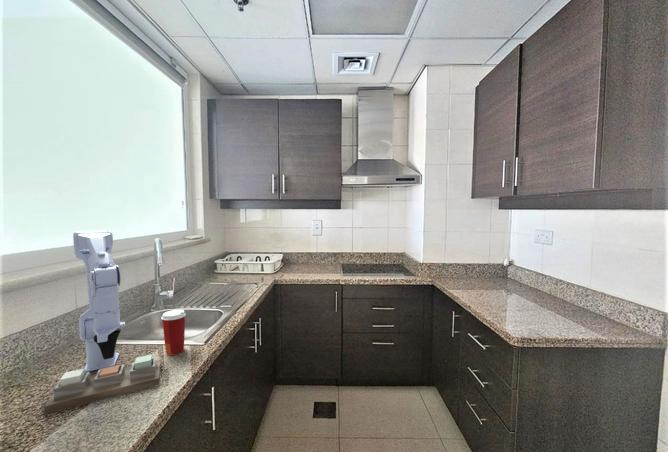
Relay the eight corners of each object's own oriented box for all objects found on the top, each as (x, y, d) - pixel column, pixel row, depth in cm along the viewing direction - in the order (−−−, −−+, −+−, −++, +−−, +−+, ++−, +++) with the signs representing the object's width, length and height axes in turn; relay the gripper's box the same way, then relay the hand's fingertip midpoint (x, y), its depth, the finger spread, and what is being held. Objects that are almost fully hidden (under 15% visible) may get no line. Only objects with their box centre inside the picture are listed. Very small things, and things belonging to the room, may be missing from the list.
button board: (61, 388, 81) (60, 373, 81) (160, 365, 93) (160, 352, 93) (44, 414, 71) (43, 396, 71) (159, 385, 82) (158, 370, 82)
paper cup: (191, 346, 107) (189, 308, 106) (180, 356, 99) (179, 316, 98) (169, 346, 107) (168, 309, 106) (157, 357, 99) (155, 316, 98)
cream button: (65, 381, 79) (65, 372, 79) (84, 376, 81) (84, 368, 81) (60, 388, 75) (60, 379, 75) (80, 384, 77) (80, 375, 77)
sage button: (136, 365, 86) (136, 357, 86) (152, 362, 88) (151, 354, 88) (134, 371, 83) (134, 363, 83) (151, 368, 85) (150, 360, 85)
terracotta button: (102, 376, 83) (102, 368, 83) (120, 372, 85) (119, 364, 84) (99, 383, 79) (99, 375, 79) (117, 379, 81) (117, 371, 81)
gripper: (120, 315, 77) (122, 365, 77) (127, 301, 89) (129, 344, 90) (85, 320, 73) (88, 372, 74) (98, 304, 86) (100, 349, 86)
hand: (108, 357), depth 82 cm, fingers closed
